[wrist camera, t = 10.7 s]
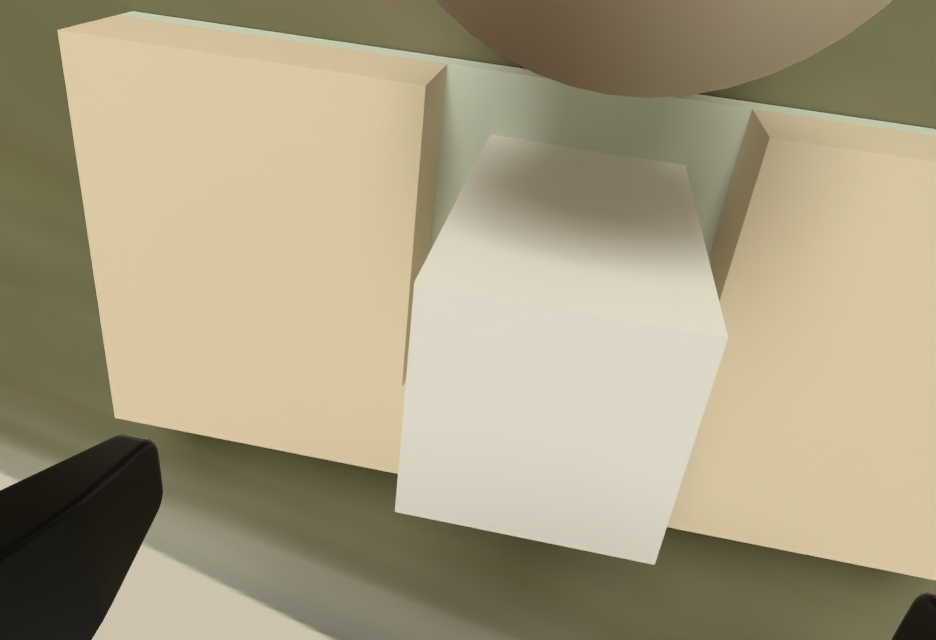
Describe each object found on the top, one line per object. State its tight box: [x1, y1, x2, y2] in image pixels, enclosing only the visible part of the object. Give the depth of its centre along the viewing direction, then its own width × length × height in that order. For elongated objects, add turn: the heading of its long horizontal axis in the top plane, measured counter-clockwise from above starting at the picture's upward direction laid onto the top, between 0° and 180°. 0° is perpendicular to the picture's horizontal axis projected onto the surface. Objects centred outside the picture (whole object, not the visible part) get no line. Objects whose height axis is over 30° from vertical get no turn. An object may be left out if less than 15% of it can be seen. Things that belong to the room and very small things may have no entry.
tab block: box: [395, 135, 728, 565], centre depth 14 cm, size 4×4×7 cm
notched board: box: [58, 11, 936, 580], centre depth 17 cm, size 20×9×3 cm, turn 84°
